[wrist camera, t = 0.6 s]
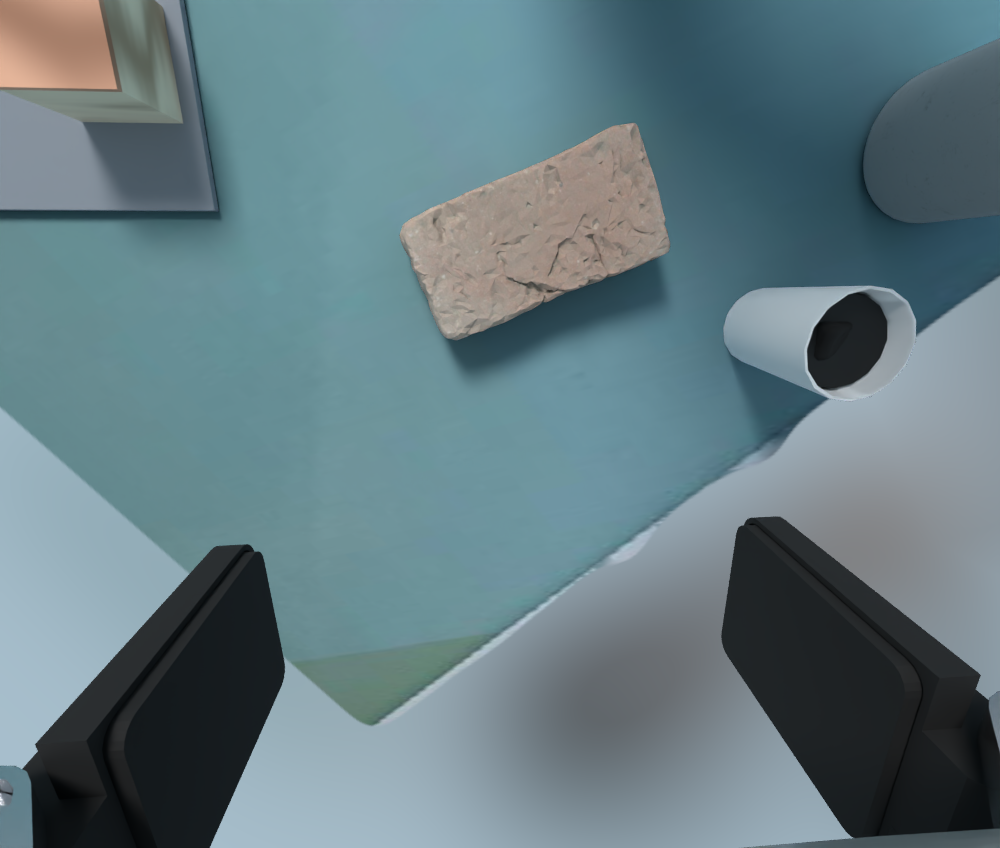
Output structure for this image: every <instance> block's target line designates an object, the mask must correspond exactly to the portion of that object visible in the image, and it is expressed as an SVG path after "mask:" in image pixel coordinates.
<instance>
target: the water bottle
mask: <svg viewBox="0 0 1000 848" xmlns="http://www.w3.org/2000/svg"><path fill="white" fill-rule="evenodd" d="M863 171H864V180H865V184H866V187H867V190H868V193H869V195H870V196H871V198H872V200H873V202H874V203H875V204H876V205H877V206H878V207H879V208H880V209H881V210H882V211H883V212H884V213H885V214H887V215H888V216H890V217H892V218H893V219H896V220H899V221H903V222H907V223H919V224H920V223H930V222H939V221H949V220H958V219H968V218H978V217H987V216H997V215H1000V38H999V39H997V40H995V41H992V42H990V43H988V44H985V45H983V46H981V47H978V48H976V49H974V50H972V51H969V52H967V53H965V54H962V55H960V56H958V57H956V58H953V59H951V60H949V61H946V62H944V63H942V64H940V65H937V66H935V67H933V68H930V69H928V70H926V71H924V72H922V73H921V74H919V75H917V76H916V77H914V78H912V79H911V80H909V81H908V82H907V83H906V84H905V85H903V86H902V87H901V88H900V89H899V90H898V91H896V92H895V93H894V95H893V96H892V97H891V98H890V99H889V101H888V102H887V103H886V104H885V105H884V107H883V108H882V110H881V112H880V113H879V115H878V117H877V118H876V120H875V121H874V123H873V126H872V128H871V131H870V133H869V135H868V138H867V142H866V146H865V150H864V160H863Z"/></svg>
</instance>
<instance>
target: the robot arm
mask: <svg viewBox="0 0 1000 848" xmlns="http://www.w3.org/2000/svg"><path fill="white" fill-rule="evenodd" d="M722 644H723V648H724V650H725V652H726V654H727V656H728V657H729V659H730V660H731V662H732V663H733V665H734V666H735V668H736V669H737V671H738V672H739V674H740V675H741V677H742V678H743V679H744V681H745V683H746V684H747V686H748V687H749V689H750V690H751V692H752V693H753V695H754V696H755V698H756V699H757V701H758V702H759V703H760V705H761V707H762V708H763V709H764V711H765V713H766V714H767V715H768V717H769V718H770V720H771V721H772V723H773V724H774V726H775V727H776V729H777V730H778V732H779V733H780V735H781V736H782V738H783V739H784V741H785V742H786V744H787V745H788V747H789V748H790V750H791V751H792V753H793V754H794V756H795V757H796V759H797V760H798V762H799V763H800V764H801V766H802V767H803V769H804V771H805V772H806V773H807V775H808V776H809V778H810V780H811V781H812V782H813V784H814V785H815V787H816V788H817V790H818V791H819V793H820V794H821V796H822V797H823V799H824V800H825V802H826V803H827V805H828V806H829V808H830V809H831V811H832V812H833V814H834V815H835V817H836V818H837V820H838V821H839V823H840V824H841V826H842V827H843V828H844V829H845V831H846V832H847V833H848V834H849V835H850V836H851V837H853V838H852V839H842V840H829V841H818V842H806V843H795V844H794V843H793V844H781V845H770V846H759V847H747V848H1000V691H998V692H996V693H995V694H994V695H992V696H991V697H990V698H989V700H988V699H986V698H985V697H984V696H982V694H980V693H979V692H978V691H977V690H976V687H977V684H978V681H979V678H980V676H981V675H980V674H979V673H978V672H976V671H975V670H974V669H973V668H971V667H970V666H969V665H967V664H966V663H965V662H964V661H963V660H961V659H960V658H959V657H957V656H956V655H955V654H954V653H952V652H951V651H950V650H949V649H947V648H946V647H945V646H943V645H942V644H941V643H940V642H938V641H937V640H936V639H935V638H933V637H932V636H931V635H930V634H928V633H927V632H926V631H925V630H923V629H922V628H921V627H919V626H918V625H917V624H916V623H914V622H913V621H912V620H911V619H909V618H908V617H907V616H906V615H904V614H903V613H902V612H901V611H899V610H898V609H897V608H895V607H894V606H893V605H892V604H890V603H889V602H888V601H887V600H885V599H884V598H883V597H881V596H880V595H879V594H878V593H877V592H875V591H874V590H873V589H872V588H870V587H869V586H868V585H866V584H865V583H864V582H863V581H862V580H860V579H859V578H858V577H856V576H855V575H854V574H853V573H851V572H850V571H849V570H848V569H846V568H845V567H844V566H842V565H841V564H840V563H839V562H838V561H836V560H835V559H834V558H832V557H831V556H830V555H829V554H827V553H826V552H825V551H824V550H822V549H821V548H820V547H818V546H817V545H816V544H815V543H814V542H812V541H811V540H810V539H808V538H807V537H806V536H804V535H803V534H802V533H801V532H799V531H798V530H797V529H796V528H795V527H793V526H792V525H791V524H789V523H788V522H787V521H786V520H784V519H783V518H781V517H758V518H749V519H747V520H746V522H745V524H744V526H740V527H739V528H738V530H737V533H736V540H735V547H734V554H733V560H732V567H731V574H730V580H729V587H728V594H727V601H726V607H725V614H724V621H723V627H722ZM284 673H285V664H284V658H283V653H282V648H281V643H280V638H279V633H278V628H277V623H276V618H275V613H274V608H273V603H272V598H271V593H270V588H269V583H268V578H267V573H266V568H265V563H264V559H263V555H262V554H261V553H260V552H254V550H253V548H252V547H251V546H250V545H248V544H246V545H227V546H216V547H214V548H213V549H212V550H211V551H210V552H209V553H208V554H207V555H206V556H205V558H204V559H203V560H202V561H201V562H200V563H199V564H198V565H197V566H196V567H195V569H194V570H193V571H192V572H191V573H190V574H189V575H188V576H187V578H186V579H185V580H184V581H183V582H182V583H181V584H180V585H179V587H177V588H176V590H175V591H174V592H173V593H172V594H171V595H170V596H169V597H168V598H167V599H166V601H165V602H164V603H163V604H162V605H161V606H160V607H159V608H158V609H157V610H156V612H155V613H154V614H153V615H152V616H151V617H150V618H149V619H148V620H147V622H146V623H145V624H144V625H143V626H142V627H141V628H140V629H139V630H138V631H137V633H136V634H135V635H134V636H133V637H132V638H131V639H130V640H129V642H128V643H127V644H126V645H125V646H124V647H123V648H122V649H121V650H120V651H119V652H118V654H117V655H116V656H115V657H114V658H113V659H112V660H111V661H110V662H109V663H108V665H107V666H106V667H105V668H104V669H103V670H102V671H101V672H100V673H99V675H98V676H97V677H96V678H95V679H94V680H93V681H92V682H91V684H90V685H89V686H88V687H87V688H86V689H85V690H84V691H83V692H82V693H81V694H80V695H79V697H78V698H77V699H76V700H75V701H74V702H73V703H72V704H71V705H70V706H69V708H68V709H67V710H66V711H65V712H64V713H63V714H62V716H60V718H59V719H58V720H57V721H56V722H55V723H54V724H53V725H52V726H51V727H50V728H49V730H48V731H47V732H46V733H45V734H44V735H43V736H42V737H41V739H40V740H39V741H38V742H37V743H36V744H35V745H36V748H37V750H38V752H37V753H36V754H35V755H34V756H33V758H32V759H31V760H30V761H29V762H28V763H27V764H26V765H25V767H24V768H23V769H20V768H19V767H16V766H0V848H210V846H211V843H212V841H213V839H214V836H215V834H216V832H217V830H218V828H219V825H220V823H221V821H222V819H223V816H224V814H225V812H226V809H227V807H228V805H229V803H230V801H231V798H232V796H233V794H234V792H235V789H236V787H237V785H238V782H239V780H240V778H241V776H242V774H243V771H244V769H245V767H246V764H247V762H248V760H249V758H250V756H251V753H252V751H253V749H254V747H255V744H256V742H257V740H258V738H259V735H260V733H261V731H262V728H263V726H264V724H265V722H266V719H267V717H268V715H269V713H270V710H271V708H272V706H273V703H274V701H275V699H276V697H277V694H278V692H279V690H280V688H281V686H282V683H283V679H284Z"/></svg>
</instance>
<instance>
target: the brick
mask: <svg viewBox="0 0 1000 848" xmlns="http://www.w3.org/2000/svg"><path fill="white" fill-rule="evenodd" d="M399 236H400V239H401V243H402V245H403V247H404V250H405V251H406V253H407V255H408V256H409V257H410V259H411V265H412V268H413V270H414V272H415V273H416V274H417V277H418V281H419V283H420V286H421V289H422V290H423V292H424V293H425V295H426V297H427V299H428V302H429V307H430V309H431V312H432V314H433V317H434V319H435V321H436V324H437V326H438V328H439V330H440V332H441V333H442V335H443V336H444V337H445V338H448V339H453V340H459V339H462V338H465V337H468V336H469V335H471V334H474V333H478V332H481V331H484V330H486V329H488V328H491V327H494V326H497V325H499V324H502V323H505V322H507V321H509V320H511V319H513V318H515V317H516V316H518V315H520V314H522V313H524V312H527V311H530V310H532V309H533V308H535V307H536V306H538V305H539V304H541V302H548V301H550V300H552V299H554V298H556V297H558V296H560V295H563V294H564V293H566V292H569V291H573V290H576V289H579V288H582V287H585V286H587V285H590V284H593V283H597V282H600V281H602V280H603V279H604V278H607V277H612V276H616V275H618V274H620V273H623V272H625V271H627V270H630V269H633V268H635V267H638V266H640V265H642V264H644V263H646V262H648V261H649V260H650V261H652V260H654V259H656V258H658V257H660V256H662V255H664V254H666V253H668V252H669V248H670V241H669V238H668V232H667V229H666V228H665V216H664V213H663V209H662V204H661V200H660V196H659V192H658V188H657V184H656V181H655V178H654V174H653V172H652V169H651V166H650V163H649V160H648V157H647V154H646V151H645V147H644V144H643V140H642V138H641V136H640V133H639V129H638V126H637V125H636V124H635V123H629V124H623V125H615V126H612V127H610V128H608V129H606V130H604V131H602V132H600V133H598V134H596V135H595V136H593V137H591V138H589V139H588V140H586V141H584V142H582V143H580V144H578V145H577V146H575V147H573V148H571V149H568V150H566V151H564V152H562V153H560V154H558V155H556V156H553V157H551V158H549V159H547V160H545V161H542V162H540V163H538V164H535V165H533V166H530V167H528V168H526V169H524V170H522V171H519V172H517V173H514V174H511V175H509V176H506V177H504V178H501V179H498V180H496V181H494V182H491V183H489V184H486V185H484V186H481V187H479V188H477V189H474V190H472V191H470V192H467V193H464V194H463V195H461V196H459V197H457V198H455V199H452V200H450V201H448V202H445V203H442V204H440V205H438V206H435V207H433V208H430V209H428V210H426V211H425V212H423V213H422V214H420V215H418V216H415V217H413V218H411V219H410V220H409V221H407V222H406V223H404V224H403V226H402V229H401V233H400V235H399Z"/></svg>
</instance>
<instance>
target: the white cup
mask: <svg viewBox="0 0 1000 848" xmlns="http://www.w3.org/2000/svg"><path fill="white" fill-rule="evenodd" d="M723 333H724V343H725V345H726V346H727V348H728V350H729V352H730V353H731V355H733V356H734V357H736V358H737V359H739V360H740V361H742V362H744V363H746V364H749V365H751V366H754V367H756V368H758V369H761V370H763V371H765V372H768V373H770V374H772V375H775V376H777V377H780V378H782V379H784V380H787V381H789V382H791V383H794V384H796V385H798V386H801V387H803V388H805V389H808V390H810V391H813V392H815V393H817V394H820V395H822V396H824V397H827V398H829V399H834V400H841V401H849V402H851V401H855V400H859V399H862V398H867V397H870V396H872V395H874V394H876V393H877V392H879V391H880V390H882V389H883V388H885V387H886V386H888V385H889V384H891V383H892V382H893V381H894V379H895V378H896V377H897V376H898V375H899V373H900V372H901V371H902V370H903V368H904V367H905V366H906V365H907V363H908V360H909V357H910V355H911V353H912V350H913V348H914V345H915V343H916V319H915V316H914V314H913V312H912V309H911V307H910V305H909V303H908V301H907V300H906V299H904V298H903V297H902V296H900V295H899V294H898V293H896V292H895V291H894V290H893V289H888V288H882V287H876V286H830V287H781V288H761V289H757V290H754V291H750V292H748V293H747V294H745V295H744V296H743V297H741V298H740V299H738V300H737V301H736V302H735V304H734V305H733V306H732V308H731V309H730V311H729V312H728V314H727V317H726V320H725V324H724V327H723Z"/></svg>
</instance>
